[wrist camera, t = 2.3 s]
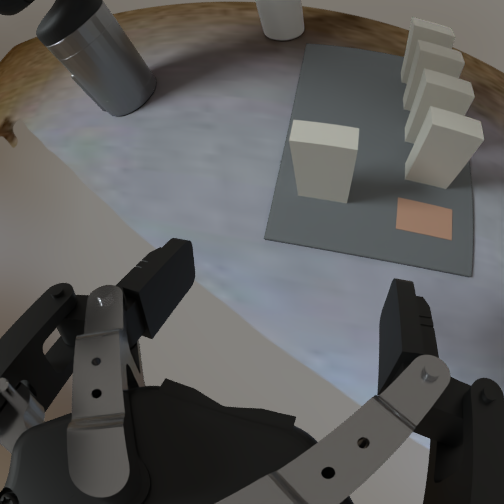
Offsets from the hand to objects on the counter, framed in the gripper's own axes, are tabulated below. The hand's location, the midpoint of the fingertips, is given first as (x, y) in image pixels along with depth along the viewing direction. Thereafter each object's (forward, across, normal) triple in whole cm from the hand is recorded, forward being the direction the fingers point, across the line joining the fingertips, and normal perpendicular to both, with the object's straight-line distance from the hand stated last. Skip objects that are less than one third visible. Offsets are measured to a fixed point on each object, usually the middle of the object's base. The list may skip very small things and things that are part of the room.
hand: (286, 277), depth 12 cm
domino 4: (+27, -11, -3) cm, 29 cm away
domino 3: (+30, -11, -6) cm, 33 cm away
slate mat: (+27, -6, -2) cm, 28 cm away
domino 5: (+23, -11, +1) cm, 26 cm away
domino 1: (+20, 0, +4) cm, 21 cm away
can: (+41, +9, -16) cm, 45 cm away
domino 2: (+34, -11, -10) cm, 37 cm away
